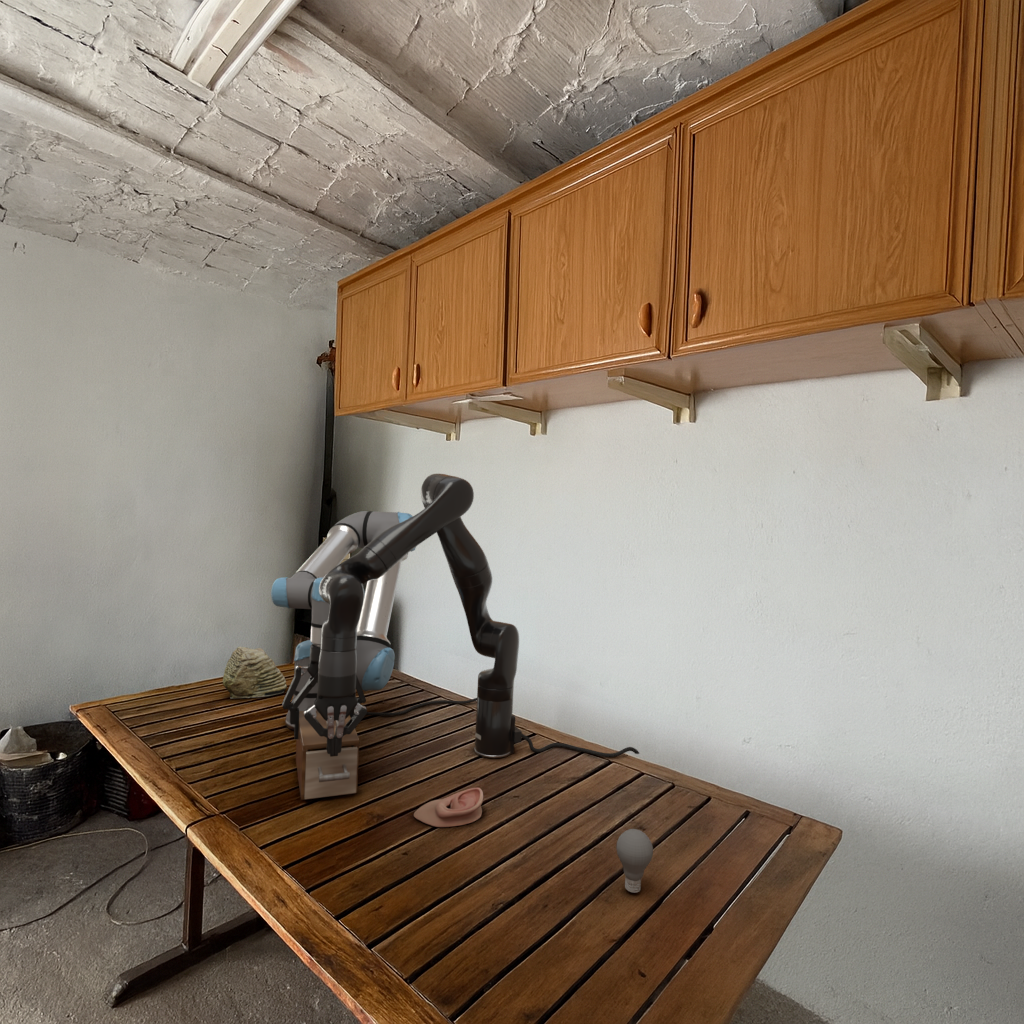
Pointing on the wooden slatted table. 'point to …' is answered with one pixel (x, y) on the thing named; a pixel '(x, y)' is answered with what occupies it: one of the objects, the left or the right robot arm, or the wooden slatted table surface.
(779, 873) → the wooden slatted table surface
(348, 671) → the right robot arm
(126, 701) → the wooden slatted table surface
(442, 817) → the anatomical model
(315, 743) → the cabinet
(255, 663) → the fossil
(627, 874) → the light bulb
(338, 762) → the drawer
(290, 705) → the left robot arm
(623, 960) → the wooden slatted table surface
